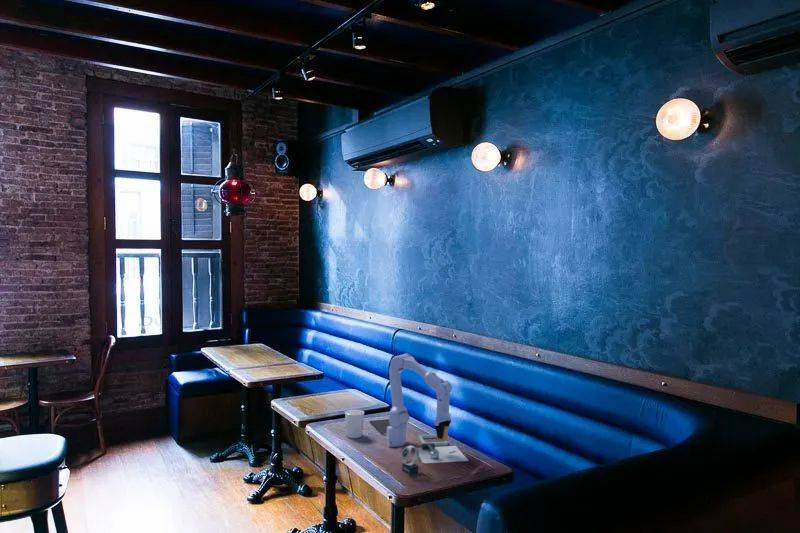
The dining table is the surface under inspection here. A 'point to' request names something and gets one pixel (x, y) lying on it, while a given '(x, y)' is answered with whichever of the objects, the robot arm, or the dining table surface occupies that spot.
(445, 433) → the block
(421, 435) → the parts tray
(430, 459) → the crank plate
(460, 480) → the dining table surface
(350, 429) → the candle holder
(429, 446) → the crank
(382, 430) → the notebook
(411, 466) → the watch
